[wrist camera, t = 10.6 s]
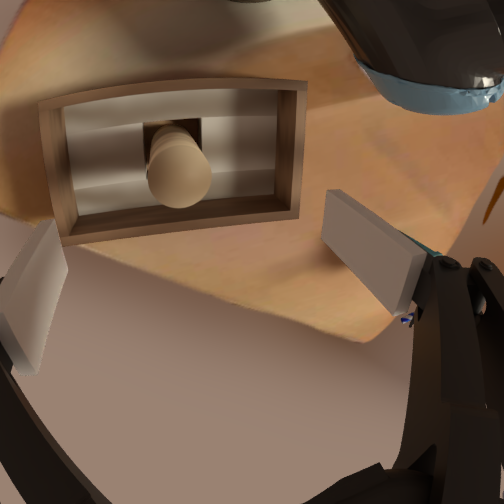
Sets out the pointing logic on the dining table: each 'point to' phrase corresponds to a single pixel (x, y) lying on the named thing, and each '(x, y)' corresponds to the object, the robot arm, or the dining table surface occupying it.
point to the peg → (177, 168)
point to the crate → (210, 143)
